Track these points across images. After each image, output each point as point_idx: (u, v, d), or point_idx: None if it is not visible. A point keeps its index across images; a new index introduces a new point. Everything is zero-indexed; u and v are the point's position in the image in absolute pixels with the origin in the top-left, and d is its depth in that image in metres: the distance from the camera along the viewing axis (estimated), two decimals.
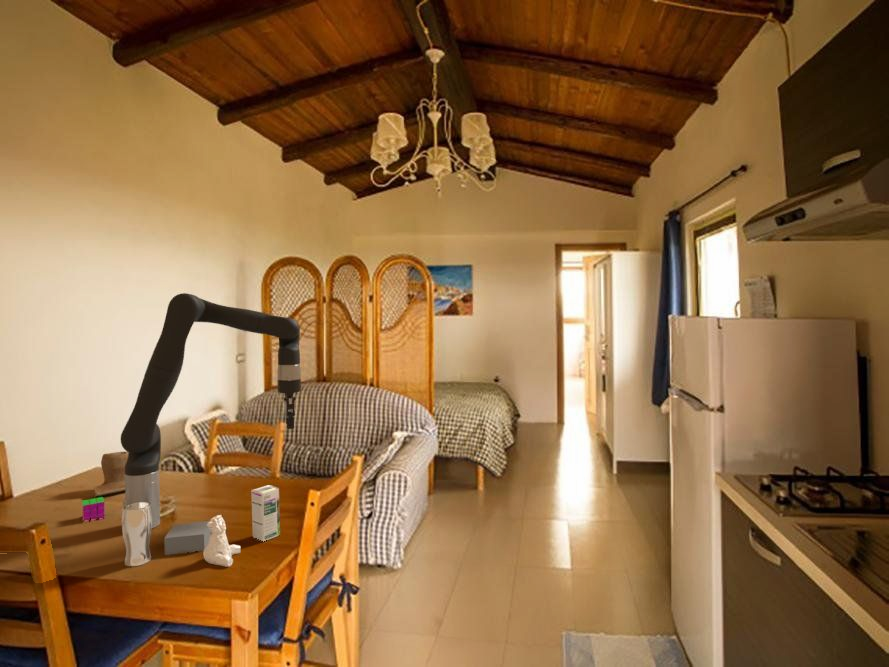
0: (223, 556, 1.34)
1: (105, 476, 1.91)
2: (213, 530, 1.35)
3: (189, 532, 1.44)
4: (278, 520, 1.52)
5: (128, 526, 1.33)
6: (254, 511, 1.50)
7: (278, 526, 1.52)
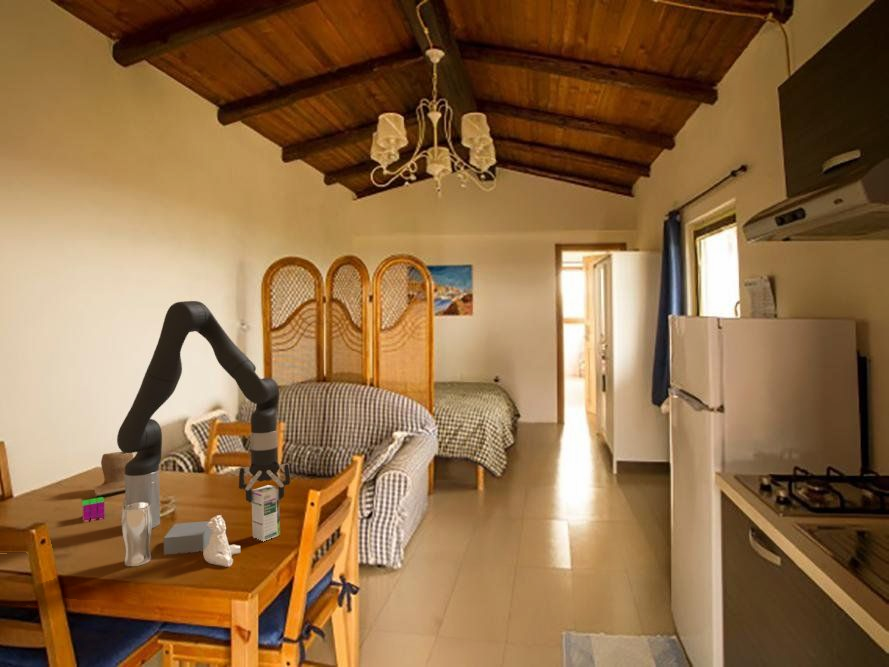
0: (223, 556, 1.34)
1: (105, 476, 1.91)
2: (213, 530, 1.35)
3: (188, 532, 1.44)
4: (278, 520, 1.52)
5: (128, 526, 1.33)
6: (254, 511, 1.50)
7: (278, 526, 1.52)
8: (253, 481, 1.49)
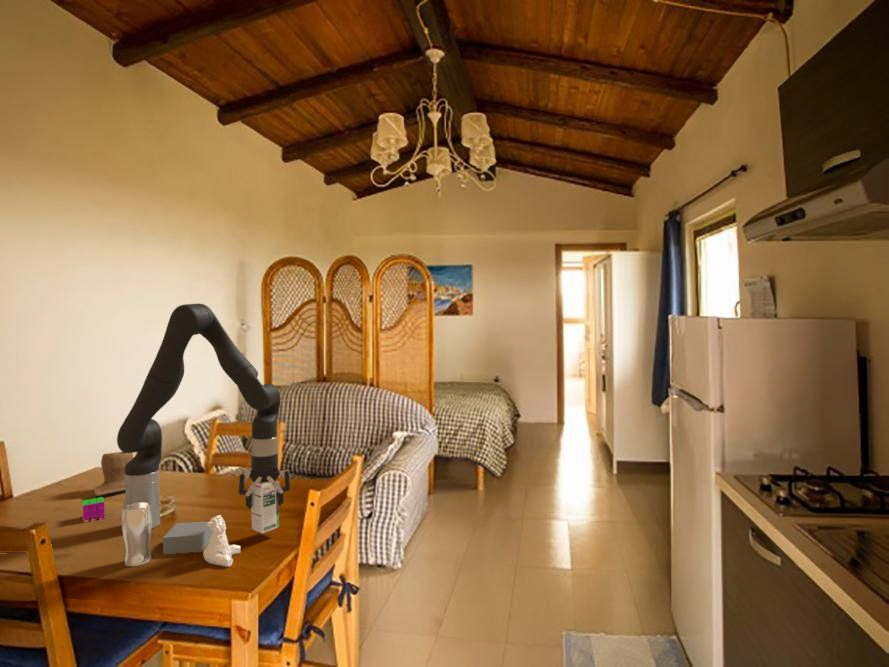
0: (223, 556, 1.34)
1: (105, 476, 1.91)
2: (213, 530, 1.35)
3: (187, 532, 1.43)
4: (277, 512, 1.52)
5: (128, 526, 1.33)
6: (254, 502, 1.50)
7: (277, 518, 1.52)
8: (253, 487, 1.49)
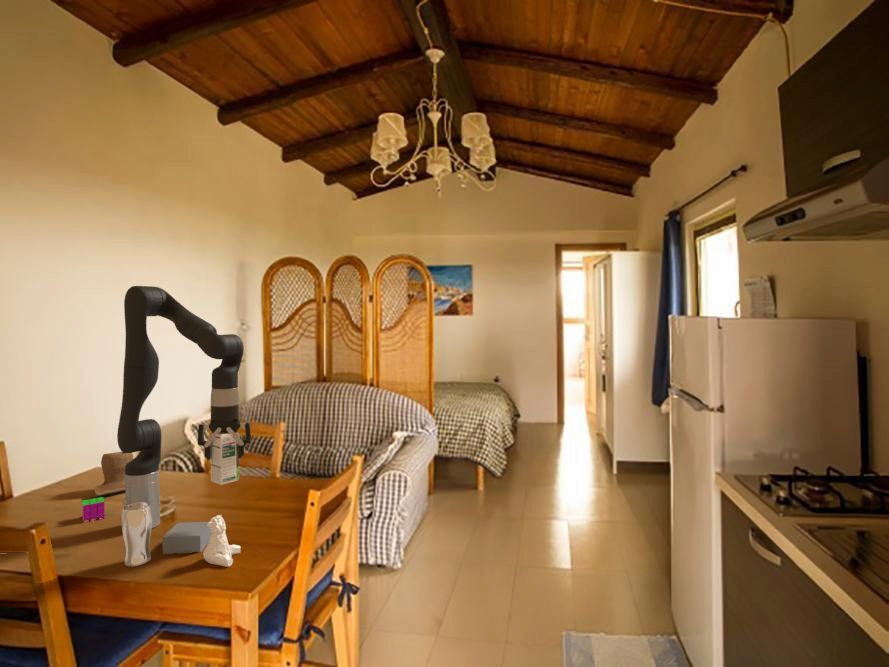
0: (223, 556, 1.34)
1: (105, 476, 1.91)
2: (213, 530, 1.35)
3: (187, 532, 1.43)
4: (237, 465, 1.49)
5: (128, 526, 1.33)
6: (213, 454, 1.47)
7: (237, 470, 1.49)
8: (212, 438, 1.46)
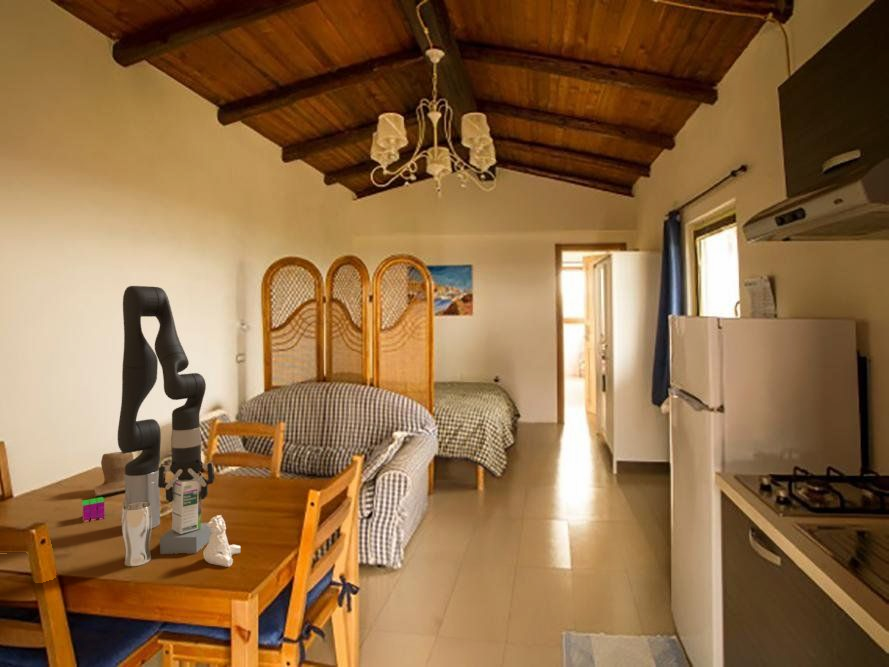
0: (223, 556, 1.34)
1: (105, 476, 1.91)
2: (213, 530, 1.35)
3: (184, 533, 1.43)
4: (199, 513, 1.46)
5: (128, 526, 1.33)
6: (174, 502, 1.45)
7: (199, 519, 1.46)
8: (173, 480, 1.43)
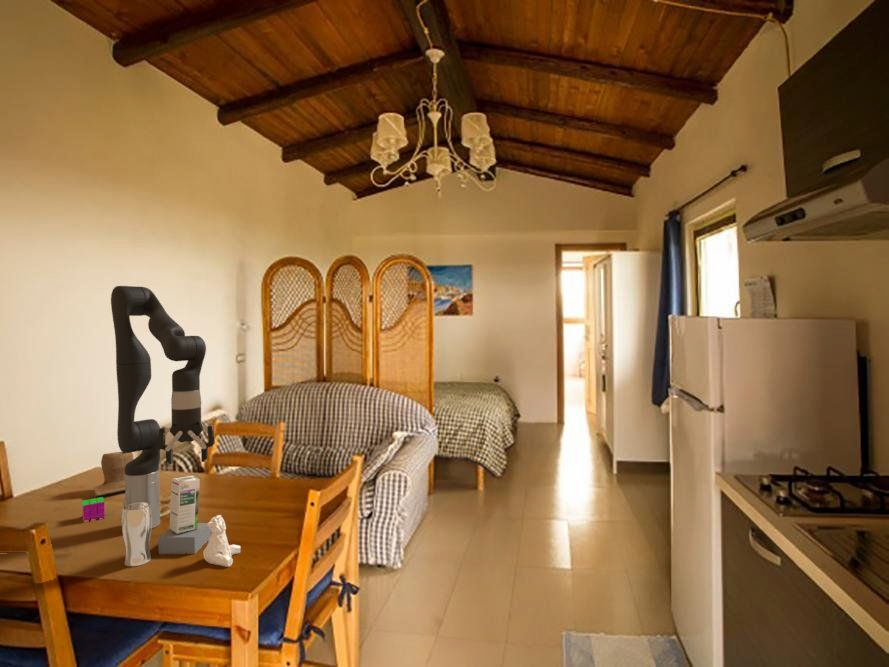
0: (223, 556, 1.34)
1: (105, 476, 1.91)
2: (213, 530, 1.35)
3: (183, 533, 1.43)
4: (196, 513, 1.46)
5: (128, 526, 1.33)
6: (172, 501, 1.45)
7: (196, 519, 1.46)
8: (173, 442, 1.43)
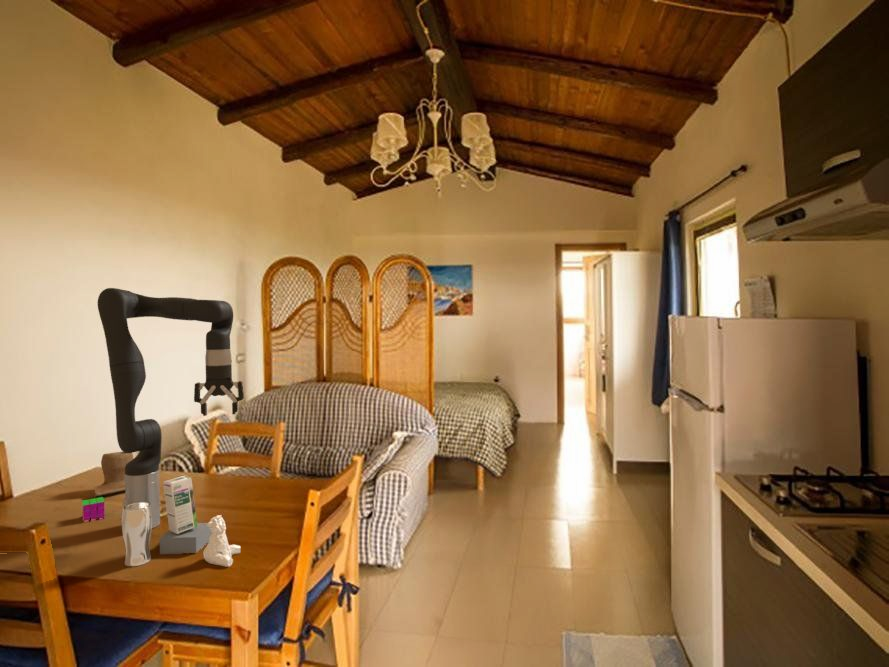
0: (223, 556, 1.34)
1: (105, 476, 1.91)
2: (213, 530, 1.35)
3: (184, 534, 1.43)
4: (193, 511, 1.45)
5: (128, 526, 1.33)
6: (167, 503, 1.44)
7: (194, 517, 1.45)
8: (207, 395, 1.59)
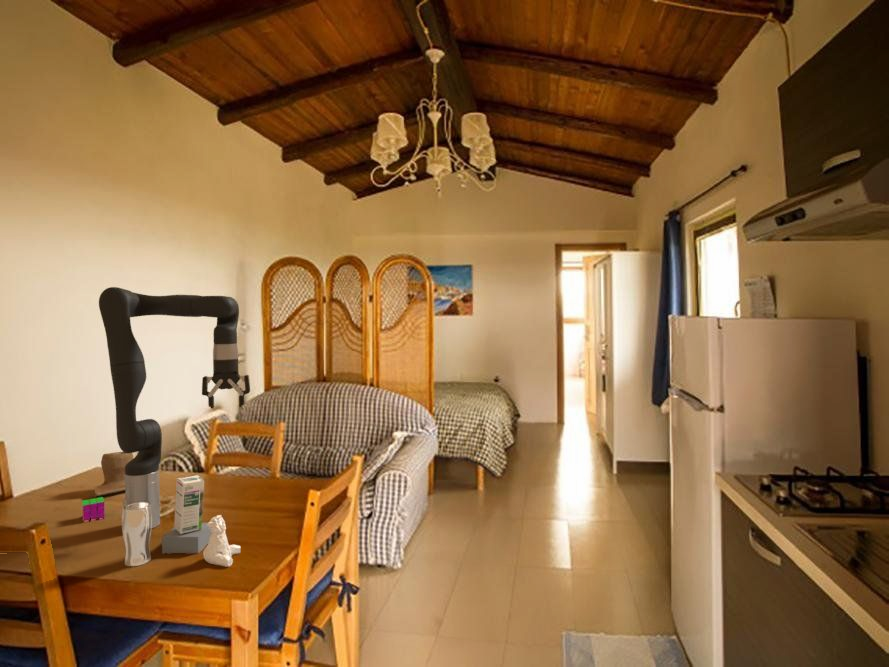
0: (223, 556, 1.34)
1: (105, 476, 1.91)
2: (213, 530, 1.35)
3: (186, 533, 1.43)
4: (200, 514, 1.45)
5: (128, 526, 1.33)
6: (177, 500, 1.44)
7: (200, 519, 1.45)
8: (215, 388, 1.63)
